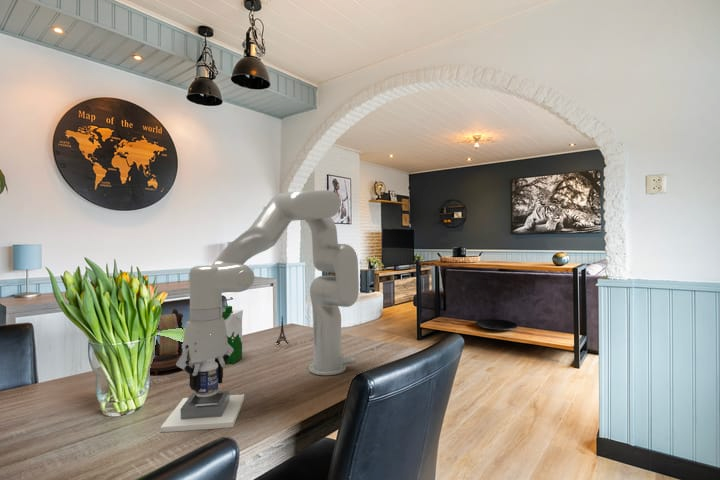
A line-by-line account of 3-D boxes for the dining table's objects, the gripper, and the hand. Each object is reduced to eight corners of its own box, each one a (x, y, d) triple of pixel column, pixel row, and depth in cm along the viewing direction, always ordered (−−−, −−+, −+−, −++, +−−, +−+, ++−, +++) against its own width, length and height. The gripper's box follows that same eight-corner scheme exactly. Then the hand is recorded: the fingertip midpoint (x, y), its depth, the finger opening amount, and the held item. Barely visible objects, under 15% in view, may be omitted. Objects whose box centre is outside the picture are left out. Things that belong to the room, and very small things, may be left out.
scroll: (150, 379, 119) (150, 316, 119) (135, 368, 129) (134, 310, 129) (196, 367, 130) (196, 309, 130) (179, 358, 140) (178, 304, 140)
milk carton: (211, 364, 133) (211, 307, 133) (223, 356, 142) (223, 303, 142) (235, 364, 132) (235, 308, 132) (245, 356, 141) (245, 303, 141)
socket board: (244, 398, 104) (244, 394, 104) (233, 427, 88) (233, 422, 88) (183, 402, 102) (183, 398, 102) (160, 432, 86) (160, 427, 86)
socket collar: (229, 400, 100) (229, 390, 100) (221, 416, 91) (221, 406, 91) (192, 402, 99) (192, 393, 99) (180, 419, 90) (180, 408, 90)
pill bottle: (210, 398, 92) (209, 358, 92) (190, 396, 93) (190, 357, 93) (222, 389, 97) (222, 352, 97) (204, 388, 98) (203, 351, 98)
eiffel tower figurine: (305, 344, 160) (304, 312, 160) (290, 350, 151) (290, 317, 151) (276, 340, 166) (276, 310, 166) (261, 346, 157) (261, 314, 157)
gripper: (227, 307, 104) (228, 373, 104) (164, 318, 90) (165, 393, 90) (244, 310, 99) (244, 379, 100) (180, 322, 86) (181, 401, 86)
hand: (206, 385), depth 95 cm, fingers closed on pill bottle, 5 cm apart
